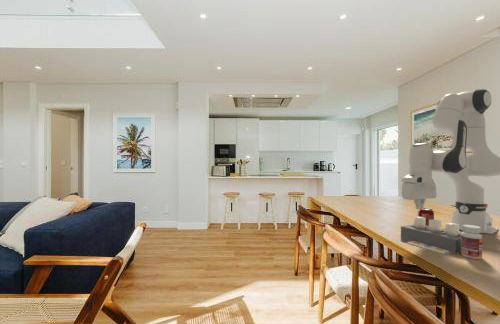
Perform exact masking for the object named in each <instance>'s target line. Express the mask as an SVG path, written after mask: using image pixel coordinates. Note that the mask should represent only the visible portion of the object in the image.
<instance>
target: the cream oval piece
mask: <svg viewBox="0 0 500 324" xmlns="http://www.w3.org/2000/svg"><path fill="white" fill-rule="evenodd" d="M425 222H426V218H424V217H418V216H414V217H413V224H414V227H415V228H419V229H425Z"/></svg>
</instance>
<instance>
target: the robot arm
mask: <svg viewBox="0 0 500 324" xmlns="http://www.w3.org/2000/svg"><path fill="white" fill-rule="evenodd" d="M491 104H492V95H491V92H490V91H489V90H487V89H485V88H483V89H480V88H479V89H478V88H477V89H474V90H466V91H461V92H458V93H448V94H445V95H444V96H443V97H442V98H440V99H439V101H438V102H437V106H436V109H435V110H434V113H433V116H432V121H431V122H432V125H433V127H434V128H435V129H436V130H438V131H439V132H441V133H445V134H449V135H452V144H451V148H450V149H448V150H434V149H433V148H432V145H431V143H429V142H419V143H414V144H412V145H411V147H410V149H409V157H408V163H409V169H408V174H405V176H403V177H401V182H402V184H401V197H402V199H403V200H408V201H413V203H414V205H415V209H417V210H419V209H423V208H425V207H424V206H425V203H426V200H427V199H429V200H431V199H436V197H437V185H436V183H435V181H434V179H433V172H435V173H436V172H438V173H439V172H440V173H441V172H442V173H443V174H444V175H446V176H448V177H449V178H450V179H451V181H452V182H453V183H454V185H455V192H456V201H455V204H454V207H455V209H454V210H453V211H452V214H451V215H452V216H451V223H455V224H459V231H462V232H464V230H463V225H474V226H478V227H480V228H481V232H480V233H479V234H489V235H493V234H494V233H496V232H497V231H499V227H497V226H493V217H492V216H491V215H490V214H489V213H488V212H487V208H488V207H489V204H488V203H485V189H484V187H483V186H482V185H481V184H478V183H477V182H476V183H475V182H473V181H472V180H470V179H469V177H488V178H489V177H495V176H500V156H498V155H497V154H495V153H494V152H493V151H492V150H491V149H490V148H489V147H488V144H487V140H486V138H487V137H486V119H485V112H486V110H488V109H489V107H490V106H491ZM467 150H469V151H471V152H472V154H466V153H467Z"/></svg>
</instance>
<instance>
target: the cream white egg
mask: <svg viewBox="0 0 500 324" xmlns="http://www.w3.org/2000/svg"><path fill="white" fill-rule="evenodd" d="M441 229H442V220H440V219H439V220H438V219H434V220H433V219H430V220H429V231H432V232H436V233H441Z"/></svg>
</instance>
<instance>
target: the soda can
mask: <svg viewBox="0 0 500 324" xmlns="http://www.w3.org/2000/svg"><path fill="white" fill-rule="evenodd" d="M417 217H424V218H426V222H425V225H427V226H429V220H430V219H433V220H435V212H434V211H433V208H429V207H423V209H417Z"/></svg>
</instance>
